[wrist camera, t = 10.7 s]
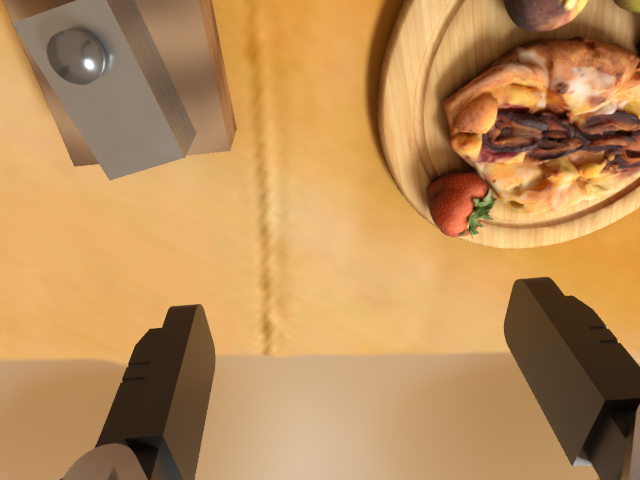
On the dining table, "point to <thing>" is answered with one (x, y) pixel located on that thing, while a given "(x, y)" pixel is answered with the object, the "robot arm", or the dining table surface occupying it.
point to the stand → (181, 63)
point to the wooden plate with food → (514, 116)
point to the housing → (110, 83)
